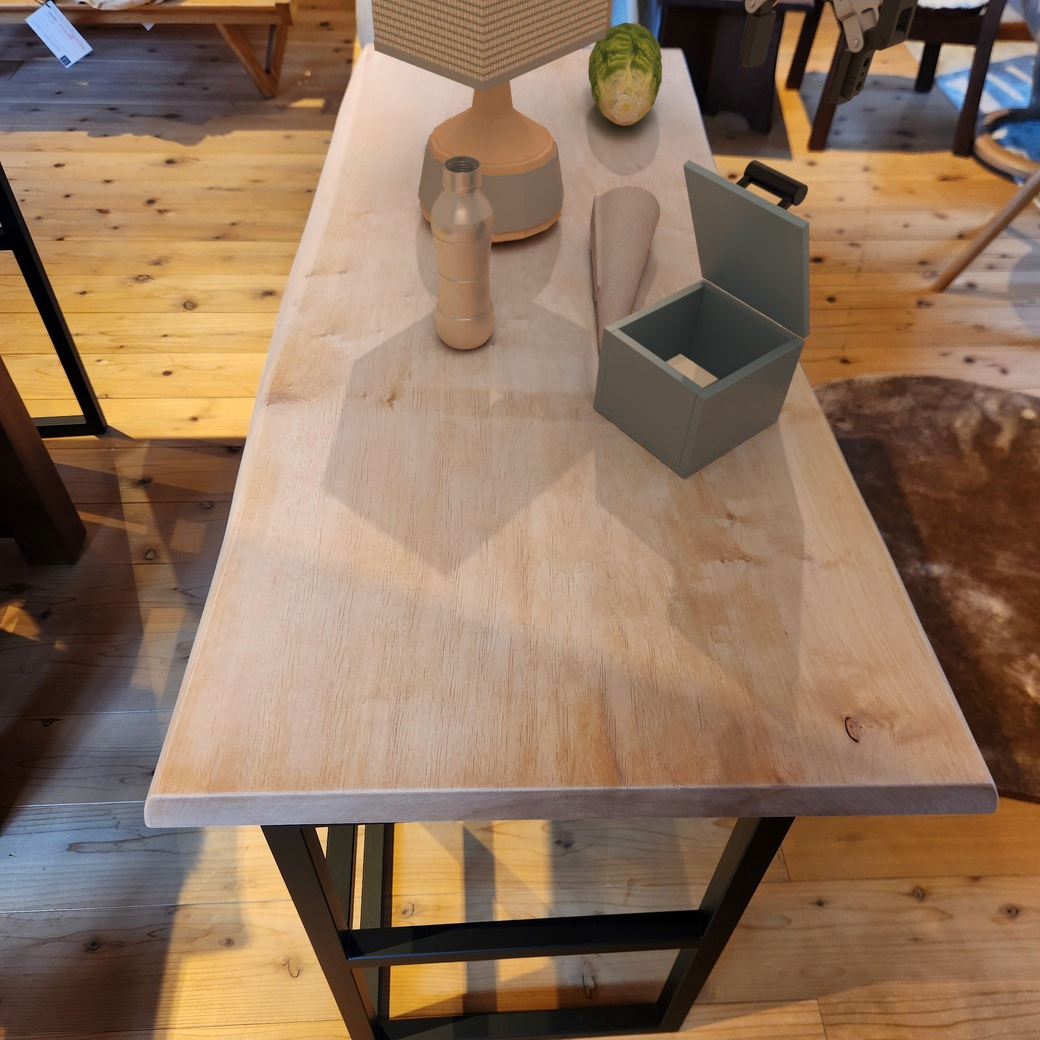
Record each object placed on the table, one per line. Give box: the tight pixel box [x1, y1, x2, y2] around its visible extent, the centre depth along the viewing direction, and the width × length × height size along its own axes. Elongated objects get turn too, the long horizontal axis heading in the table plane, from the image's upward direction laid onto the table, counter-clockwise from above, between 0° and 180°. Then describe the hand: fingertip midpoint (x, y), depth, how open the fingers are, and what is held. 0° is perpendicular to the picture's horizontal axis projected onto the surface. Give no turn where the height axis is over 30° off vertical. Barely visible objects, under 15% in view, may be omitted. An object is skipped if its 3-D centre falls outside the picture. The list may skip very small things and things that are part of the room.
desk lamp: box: [370, 0, 609, 243], centre depth 99 cm, size 22×19×37 cm
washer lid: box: [682, 159, 811, 340], centre depth 77 cm, size 15×13×5 cm
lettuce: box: [587, 22, 663, 127], centre depth 131 cm, size 12×21×11 cm, turn 176°
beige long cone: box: [589, 185, 661, 353], centre depth 100 cm, size 8×9×26 cm
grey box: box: [592, 278, 806, 480], centre depth 84 cm, size 14×13×10 cm
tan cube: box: [666, 354, 718, 389], centre depth 84 cm, size 5×5×5 cm
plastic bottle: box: [429, 156, 496, 350], centre depth 87 cm, size 6×7×20 cm
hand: (794, 82), depth 66 cm, fingers open, 8 cm apart
